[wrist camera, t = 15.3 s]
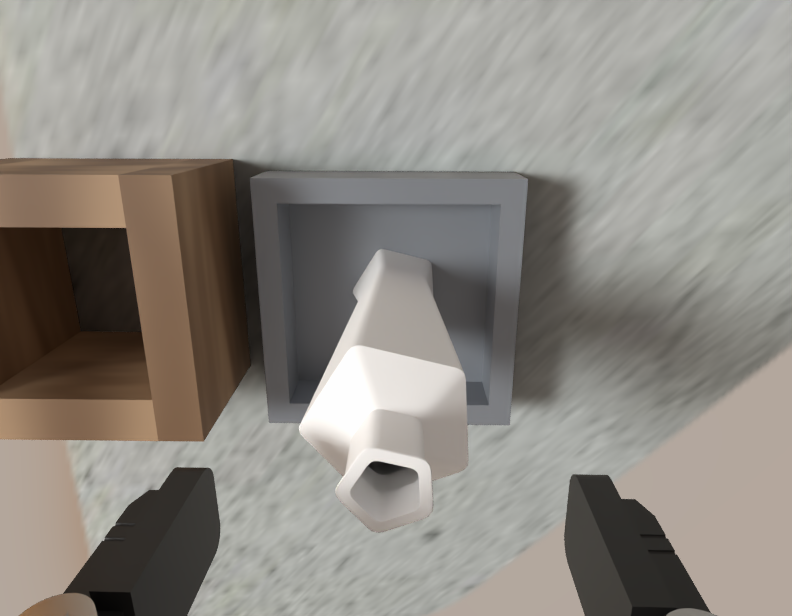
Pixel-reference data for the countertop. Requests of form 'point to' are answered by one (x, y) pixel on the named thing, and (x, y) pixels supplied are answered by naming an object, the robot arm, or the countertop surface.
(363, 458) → the perfume bottle
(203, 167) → the wooden cubby box
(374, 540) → the countertop surface
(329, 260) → the tray
